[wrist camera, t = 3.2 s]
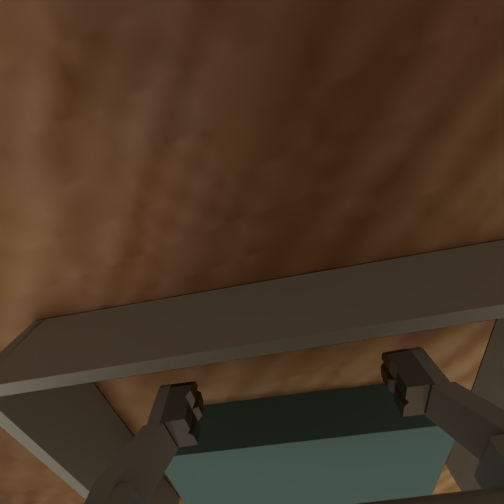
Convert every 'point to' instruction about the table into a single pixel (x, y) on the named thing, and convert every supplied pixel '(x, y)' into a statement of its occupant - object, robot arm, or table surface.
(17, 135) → the table surface
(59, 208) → the table surface
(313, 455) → the cover plate
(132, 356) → the grey u-shaped frame
